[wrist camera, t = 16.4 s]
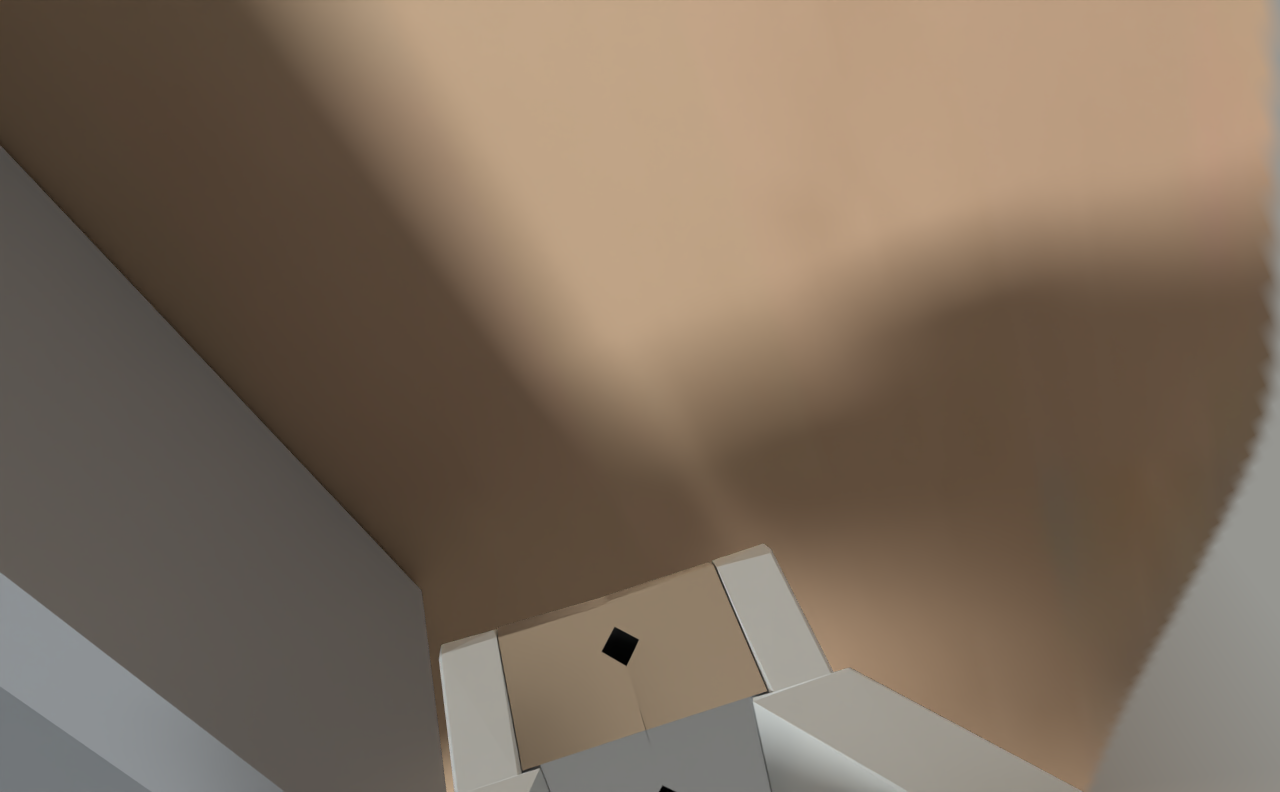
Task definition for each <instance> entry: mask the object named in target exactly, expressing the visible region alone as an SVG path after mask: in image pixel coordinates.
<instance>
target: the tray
mask: <svg viewBox="0 0 1280 792" xmlns="http://www.w3.org/2000/svg"><path fill="white" fill-rule="evenodd" d="M0 687H2V688H3V689H5V690H6V691H7V692H9V693H10V694H12V695H13V696H15V697H16V698H18V699H19V700H20V701H22V702H23V703H25V704H26V705H28V706H29V707H30V708H32V709H33V710H35V711H36V712H38V713H39V714H41V715H42V716H43V717H45V718H46V719H48V720H49V721H51V722H52V723H53V724H55V725H56V726H58V727H59V728H61V729H62V730H64V731H65V732H66V733H68V734H69V735H71V736H72V737H74V738H75V739H76V740H78V741H79V742H81V743H82V744H84V745H85V746H87V747H88V748H89V749H91V750H92V751H94V752H95V753H97V754H98V755H99V756H101V757H102V758H104V759H105V760H107V761H108V762H110V763H111V764H112V765H114V766H115V767H117V768H118V769H120V770H121V771H122V772H124V773H125V774H127V775H128V776H130V777H131V778H133V779H134V780H135V781H137V782H138V783H140V784H141V785H143V786H144V787H145V788H147V789H148V790H150V791H151V792H446V784H445V776H444V768H443V760H442V752H441V744H440V735H439V727H438V719H437V711H436V703H435V695H434V686H433V678H432V670H431V662H430V654H429V646H428V638H427V629H426V621H425V613H424V605H423V597H422V591H421V590H420V588H419V587H418V586H417V585H416V584H415V583H414V582H413V581H412V580H411V579H410V578H409V577H408V576H407V575H406V574H405V573H404V572H403V571H402V569H401V568H400V567H399V566H398V565H397V564H396V563H395V562H394V561H393V560H392V559H391V558H390V557H389V556H388V555H387V554H386V553H385V551H384V550H383V549H382V548H381V547H380V546H379V545H378V544H377V543H376V542H375V541H374V540H373V539H372V538H371V537H370V536H369V535H368V534H367V532H366V531H365V530H364V529H363V528H362V527H361V526H360V525H359V524H358V523H357V522H356V521H355V520H354V519H353V518H352V517H351V516H350V514H349V513H348V512H347V511H346V510H345V509H344V508H343V507H342V506H341V505H340V504H339V503H338V502H337V501H336V500H335V499H334V498H333V497H332V495H331V494H330V493H329V492H328V491H327V490H326V489H325V488H324V487H323V486H322V485H321V484H320V483H319V482H318V481H317V480H316V479H315V477H314V476H313V475H312V474H311V473H310V472H309V471H308V470H307V469H306V468H305V467H304V466H303V465H302V464H301V463H300V462H299V461H298V460H297V458H296V457H295V456H294V455H293V454H292V453H291V452H290V451H289V450H288V449H287V448H286V447H285V446H284V445H283V444H282V443H281V442H280V440H279V439H278V438H277V437H276V436H275V435H274V434H273V433H272V432H271V431H270V430H269V429H268V428H267V427H266V426H265V425H264V424H263V423H262V421H261V420H260V419H259V418H258V417H257V416H256V415H255V414H254V413H253V412H252V411H251V410H250V409H249V408H248V407H247V406H246V405H245V403H244V402H243V401H242V400H241V399H240V398H239V397H238V396H237V395H236V394H235V393H234V392H233V391H232V390H231V389H230V388H229V387H228V386H227V384H226V383H225V382H224V381H223V380H222V379H221V378H220V377H219V376H218V375H217V374H216V373H215V372H214V371H213V370H212V369H211V368H210V366H209V365H208V364H207V363H206V362H205V361H204V360H203V359H202V358H201V357H200V356H199V355H198V354H197V353H196V352H195V351H194V350H193V349H192V347H191V346H190V345H189V344H188V343H187V342H186V341H185V340H184V339H183V338H182V337H181V336H180V335H179V334H178V333H177V332H176V331H175V329H174V328H173V327H172V326H171V325H170V324H169V323H168V322H167V321H166V320H165V319H164V318H163V317H162V316H161V315H160V314H159V313H158V312H157V310H156V309H155V308H154V307H153V306H152V305H151V304H150V303H149V302H148V301H147V300H146V299H145V298H144V297H143V296H142V295H141V294H140V292H139V291H138V290H137V289H136V288H135V287H134V286H133V285H132V284H131V283H130V282H129V281H128V280H127V279H126V278H125V277H124V276H123V275H122V273H121V272H120V271H119V270H118V269H117V268H116V267H115V266H114V265H113V264H112V263H111V262H110V261H109V260H108V259H107V258H106V257H105V255H104V254H103V253H102V252H101V251H100V250H99V249H98V248H97V247H96V246H95V245H94V244H93V243H92V242H91V241H90V240H89V239H88V238H87V236H86V235H85V234H84V233H83V232H82V231H81V230H80V229H79V228H78V227H77V226H76V225H75V224H74V223H73V222H72V221H71V220H70V218H69V217H68V216H67V215H66V214H65V213H64V212H63V211H62V210H61V209H60V208H59V207H58V206H57V205H56V204H55V203H54V202H53V201H52V199H51V198H50V197H49V196H48V195H47V194H46V193H45V192H44V191H43V190H42V189H41V188H40V187H39V186H38V185H37V184H36V183H35V181H34V180H33V179H32V178H31V177H30V176H29V175H28V174H27V173H26V172H25V171H24V170H23V169H22V168H21V167H20V166H19V165H18V163H17V162H16V161H15V160H14V159H13V158H12V157H11V156H10V155H9V154H8V153H7V152H6V151H5V150H4V149H3V148H2V147H1V146H0Z"/></svg>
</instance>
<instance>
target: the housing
mask: <svg viewBox="0 0 1280 792" xmlns="http://www.w3.org/2000/svg"><path fill="white" fill-rule="evenodd" d="M0 792H151V791H150V790H148V789H147V788H145V787H144V786H143V785H141V784H140V783H138V782H137V781H135V780H134V779H133V778H131V777H130V776H128V775H127V774H125V773H124V772H122V771H121V770H120V769H118V768H117V767H115V766H114V765H112V764H111V763H110V762H108V761H107V760H105V759H104V758H102V757H101V756H99V755H98V754H97V753H95V752H94V751H92V750H91V749H89V748H88V747H87V746H85V745H84V744H82V743H81V742H79V741H78V740H76V739H75V738H74V737H72V736H71V735H69V734H68V733H66V732H65V731H64V730H62V729H61V728H59V727H58V726H56V725H55V724H53V723H52V722H51V721H49V720H48V719H46V718H45V717H43V716H42V715H41V714H39V713H38V712H36V711H35V710H33V709H32V708H30V707H29V706H28V705H26V704H25V703H23V702H22V701H20V700H19V699H18V698H16V697H15V696H13V695H12V694H10V693H9V692H7V691H6V690H5V689H3V688H2V687H0Z"/></svg>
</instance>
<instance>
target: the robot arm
mask: <svg viewBox="0 0 1280 792" xmlns="http://www.w3.org/2000/svg"><path fill="white" fill-rule="evenodd" d="M439 665H440V673H441V682H442V690H443V699H444V707H445V716H446V724H447V732H448V741H449V749H450V758H451V766H452V775H453V783H454V792H1083V791H1081V790H1079V789H1077V788H1075V787H1073V786H1072V785H1070V784H1068V783H1066V782H1064V781H1062V780H1060V779H1058V778H1057V777H1055V776H1053V775H1051V774H1049V773H1047V772H1045V771H1043V770H1042V769H1040V768H1038V767H1036V766H1034V765H1032V764H1030V763H1028V762H1027V761H1025V760H1023V759H1021V758H1019V757H1017V756H1015V755H1013V754H1012V753H1010V752H1008V751H1006V750H1004V749H1002V748H1000V747H998V746H997V745H995V744H993V743H991V742H989V741H987V740H985V739H983V738H982V737H980V736H978V735H976V734H974V733H972V732H970V731H968V730H967V729H965V728H963V727H961V726H959V725H957V724H955V723H953V722H952V721H950V720H948V719H946V718H944V717H942V716H940V715H938V714H937V713H935V712H933V711H931V710H929V709H927V708H925V707H923V706H922V705H920V704H918V703H916V702H914V701H912V700H910V699H908V698H906V697H905V696H903V695H901V694H899V693H897V692H895V691H893V690H891V689H890V688H888V687H886V686H884V685H882V684H880V683H878V682H876V681H875V680H873V679H871V678H869V677H867V676H865V675H863V674H861V673H860V672H858V671H856V670H854V669H852V668H846V669H843V670H839V671H836V672H833V670H832V668H831V666H830V664H829V662H828V660H827V658H826V656H825V654H824V652H823V650H822V648H821V646H820V644H819V642H818V640H817V638H816V636H815V635H814V633H813V631H812V629H811V627H810V625H809V623H808V621H807V619H806V617H805V615H804V613H803V611H802V609H801V607H800V605H799V603H798V601H797V599H796V597H795V595H794V593H793V591H792V589H791V587H790V585H789V583H788V581H787V579H786V577H785V575H784V573H783V571H782V569H781V567H780V565H779V563H778V562H777V560H776V558H775V556H774V554H773V552H772V550H771V549H770V548H769V547H768V546H766V545H765V544H764V543H763V544H760V545H757V546H754V547H751V548H748V549H745V550H742V551H739V552H736V553H733V554H730V555H727V556H724V557H721V558H718V559H715V560H712V563H710V562H707V563H704V564H701V565H698V566H695V567H692V568H689V569H686V570H682V571H679V572H676V573H673V574H670V575H667V576H664V577H661V578H658V579H655V580H652V581H648V582H645V583H642V584H639V585H636V586H633V587H630V588H627V589H624V590H621V591H618V592H615V593H611V594H608V595H605V596H604V597H600V598H597V599H593V600H590V601H586V602H583V603H580V604H576V605H573V606H569V607H566V608H562V609H559V610H555V611H552V612H548V613H545V614H541V615H538V616H535V617H531V618H528V619H524V620H521V621H517V622H514V623H510V624H507V625H503V626H500V627H498V629H495V630H491V631H488V632H484V633H481V634H477V635H474V636H470V637H466V638H463V639H459V640H456V641H452V642H449V643H445V644H442V645H441V650H440V655H439Z"/></svg>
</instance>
